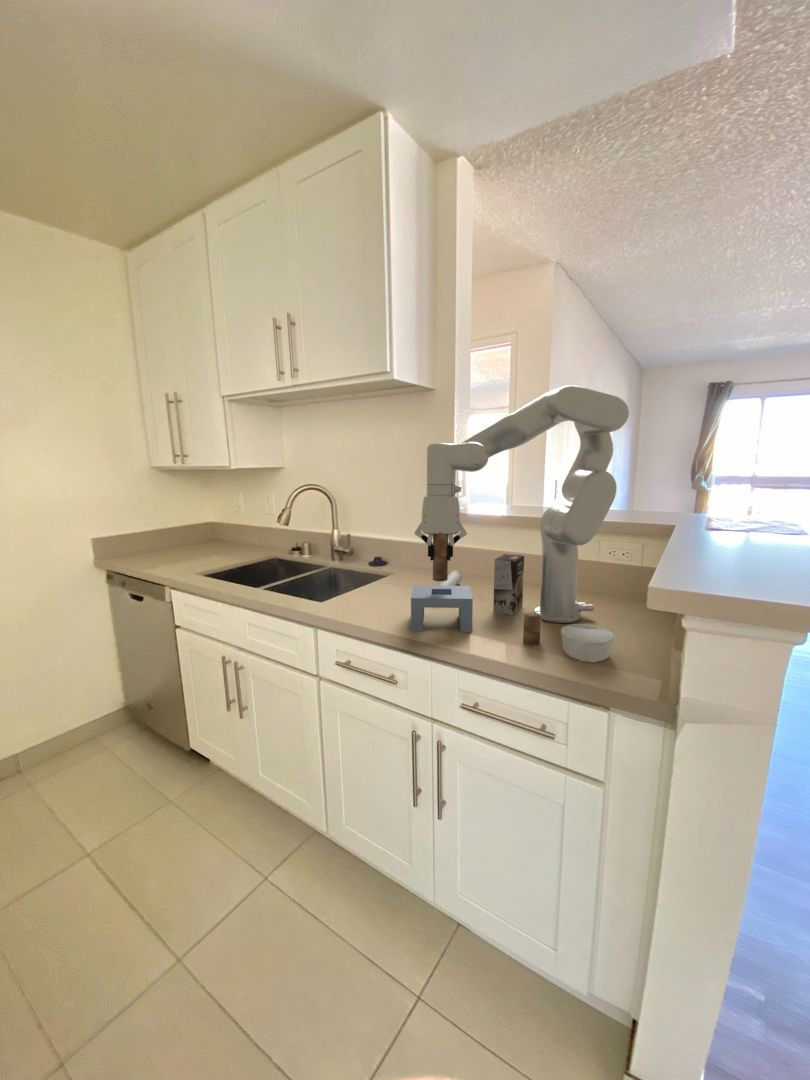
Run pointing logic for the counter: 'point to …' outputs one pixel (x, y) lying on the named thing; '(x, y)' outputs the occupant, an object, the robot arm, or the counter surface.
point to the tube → (452, 579)
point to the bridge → (441, 603)
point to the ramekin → (586, 642)
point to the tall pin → (440, 557)
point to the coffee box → (508, 584)
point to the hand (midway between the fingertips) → (440, 558)
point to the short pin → (532, 628)
